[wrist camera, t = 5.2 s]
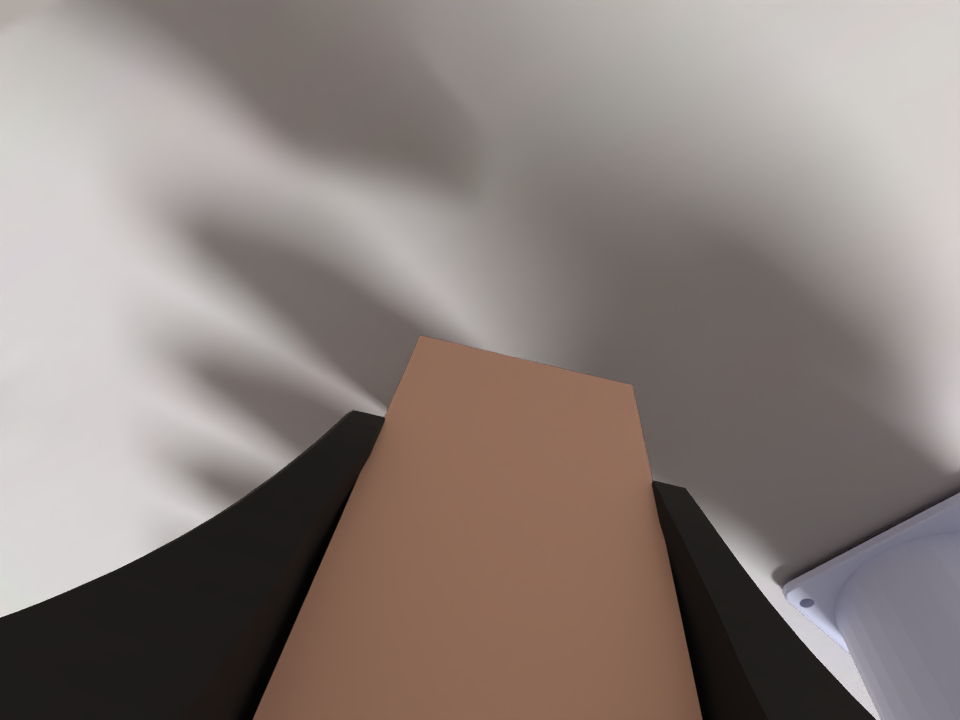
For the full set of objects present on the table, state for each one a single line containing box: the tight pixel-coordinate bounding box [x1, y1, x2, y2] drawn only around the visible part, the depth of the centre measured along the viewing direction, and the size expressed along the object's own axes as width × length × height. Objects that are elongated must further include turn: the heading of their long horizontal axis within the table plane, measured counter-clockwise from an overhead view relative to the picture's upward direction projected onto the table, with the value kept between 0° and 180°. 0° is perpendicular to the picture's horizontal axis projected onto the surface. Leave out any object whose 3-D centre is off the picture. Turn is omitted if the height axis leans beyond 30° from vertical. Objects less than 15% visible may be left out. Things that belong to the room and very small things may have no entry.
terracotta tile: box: [253, 335, 702, 720], centre depth 10 cm, size 2×5×10 cm, turn 78°
